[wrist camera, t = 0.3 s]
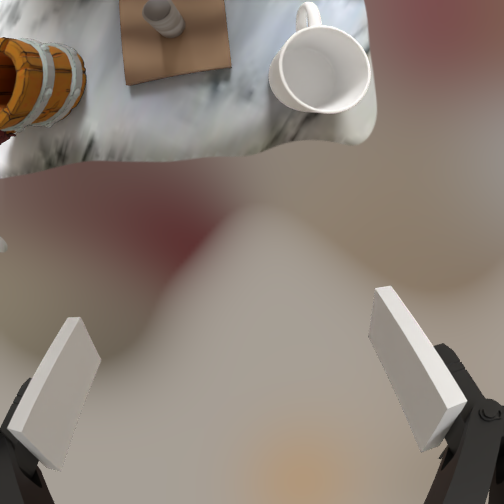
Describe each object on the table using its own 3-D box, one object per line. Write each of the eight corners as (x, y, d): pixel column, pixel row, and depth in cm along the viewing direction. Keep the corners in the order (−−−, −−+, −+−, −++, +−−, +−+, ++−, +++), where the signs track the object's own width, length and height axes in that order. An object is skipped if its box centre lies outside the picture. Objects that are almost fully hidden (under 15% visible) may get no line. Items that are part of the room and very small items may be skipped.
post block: (122, -1, 27) (94, -24, 18) (221, -21, 27) (218, -53, 18) (130, 85, 32) (100, 81, 24) (231, 67, 32) (230, 55, 24)
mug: (105, 81, 31) (38, 74, 18) (26, 167, 35) (-45, 201, 21) (64, 27, 27) (-6, 6, 14) (-8, 115, 31) (-81, 132, 17)
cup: (271, 114, 34) (284, 117, 25) (259, 19, 29) (267, -10, 20) (340, 109, 34) (374, 112, 25) (329, 17, 29) (358, -8, 20)
